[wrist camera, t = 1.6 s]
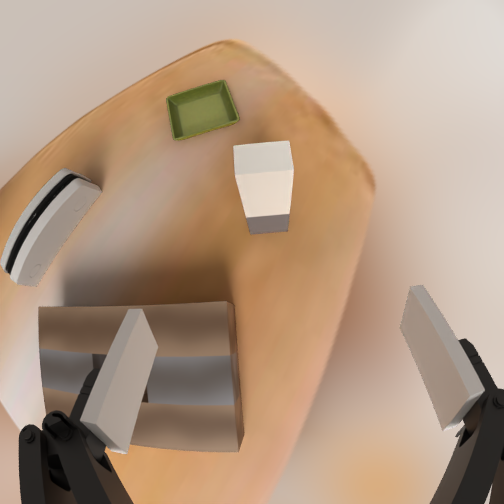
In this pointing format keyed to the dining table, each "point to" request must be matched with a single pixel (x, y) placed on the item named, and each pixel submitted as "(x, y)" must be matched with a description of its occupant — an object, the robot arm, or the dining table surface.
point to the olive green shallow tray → (201, 110)
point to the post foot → (154, 370)
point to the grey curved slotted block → (47, 226)
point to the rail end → (265, 184)
